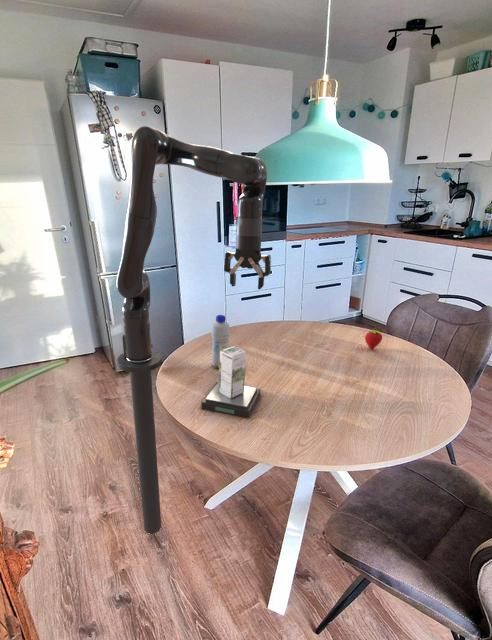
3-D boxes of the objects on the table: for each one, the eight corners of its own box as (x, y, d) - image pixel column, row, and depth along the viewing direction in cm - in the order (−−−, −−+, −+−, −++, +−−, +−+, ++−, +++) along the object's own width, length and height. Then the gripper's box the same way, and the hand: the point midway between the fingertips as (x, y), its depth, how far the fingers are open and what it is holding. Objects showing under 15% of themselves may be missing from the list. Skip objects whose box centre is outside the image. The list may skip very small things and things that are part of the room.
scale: (201, 409, 117) (201, 402, 116) (216, 387, 130) (216, 381, 129) (248, 418, 114) (249, 411, 113) (260, 395, 126) (260, 389, 125)
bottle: (218, 371, 140) (219, 319, 132) (207, 365, 145) (207, 314, 136) (232, 366, 145) (234, 316, 136) (221, 360, 149) (222, 311, 141)
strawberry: (359, 347, 167) (363, 325, 163) (374, 345, 169) (379, 324, 165) (367, 352, 162) (372, 330, 158) (383, 351, 164) (387, 328, 160)
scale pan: (205, 400, 117) (205, 398, 117) (218, 383, 128) (218, 381, 127) (246, 408, 114) (247, 406, 114) (256, 390, 124) (257, 387, 124)
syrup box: (231, 386, 124) (233, 344, 118) (244, 393, 121) (246, 350, 114) (218, 392, 121) (219, 349, 114) (231, 399, 117) (232, 356, 111)
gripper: (275, 233, 116) (271, 287, 123) (229, 230, 119) (228, 282, 126) (269, 236, 109) (265, 292, 116) (222, 232, 113) (221, 287, 120)
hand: (246, 287), depth 121 cm, fingers open, 8 cm apart
